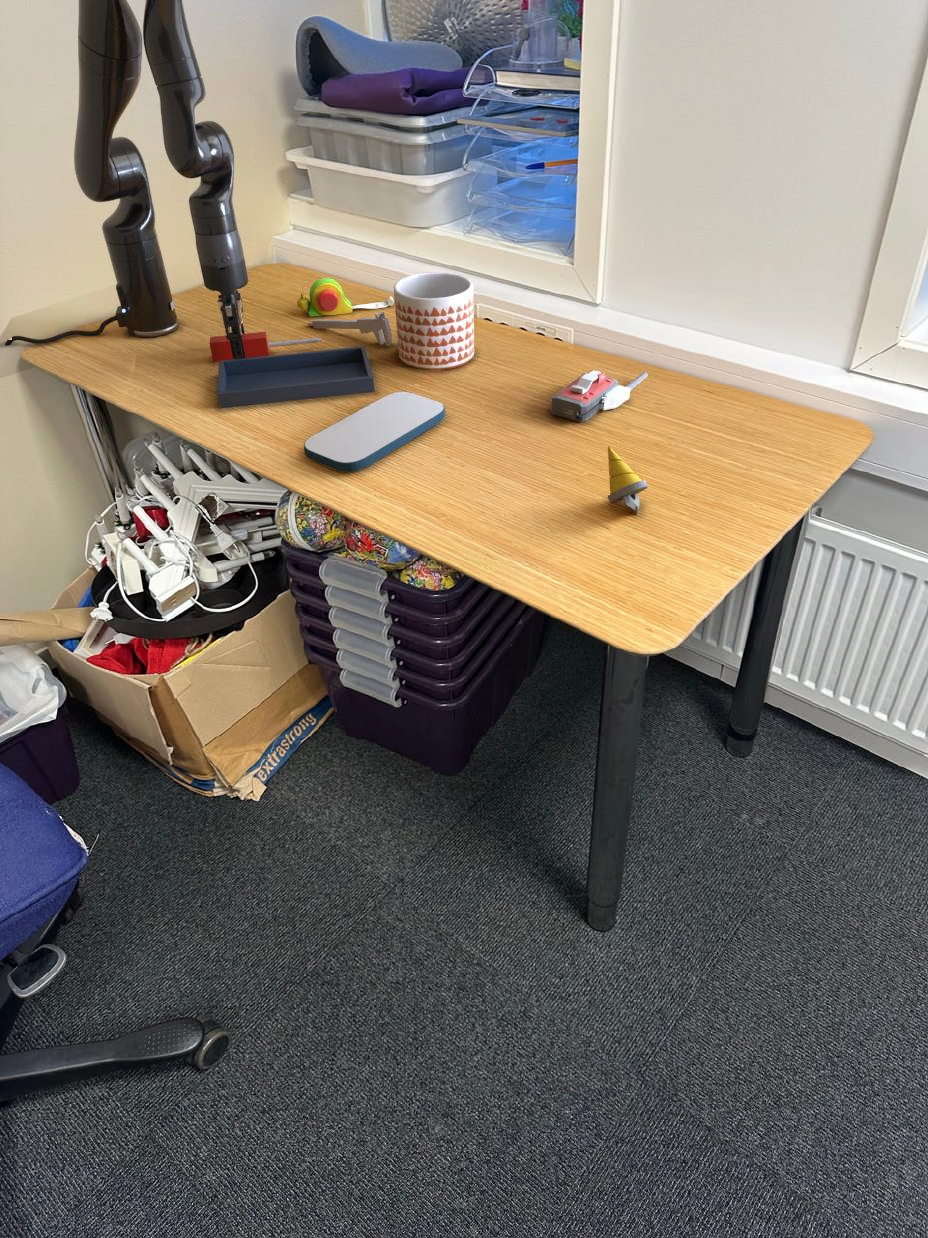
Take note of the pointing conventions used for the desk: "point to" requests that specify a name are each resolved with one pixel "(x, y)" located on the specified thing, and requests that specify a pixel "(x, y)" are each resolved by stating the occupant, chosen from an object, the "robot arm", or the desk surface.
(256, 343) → the screwdriver
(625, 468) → the yellow cone
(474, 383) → the desk surface
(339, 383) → the tray
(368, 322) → the caliper
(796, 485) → the desk surface
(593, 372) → the walkie-talkie
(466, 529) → the desk surface
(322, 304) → the toy measuring tape
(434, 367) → the planter
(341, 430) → the external hard drive
